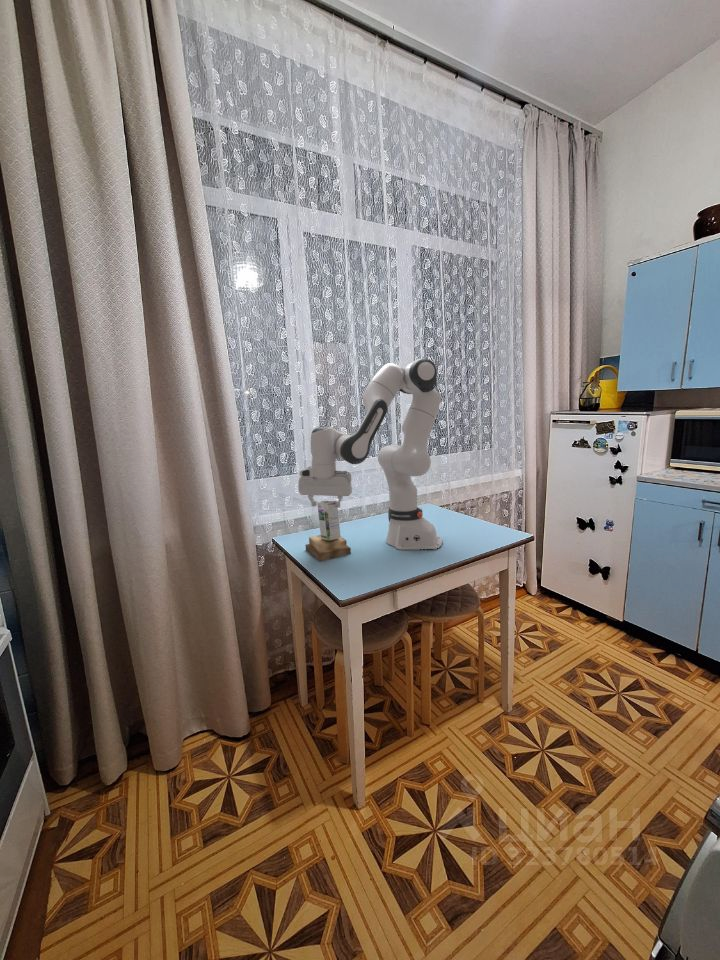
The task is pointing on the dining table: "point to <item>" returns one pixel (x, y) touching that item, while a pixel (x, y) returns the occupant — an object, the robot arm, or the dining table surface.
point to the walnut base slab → (327, 553)
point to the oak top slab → (327, 544)
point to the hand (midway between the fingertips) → (325, 506)
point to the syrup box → (328, 520)
